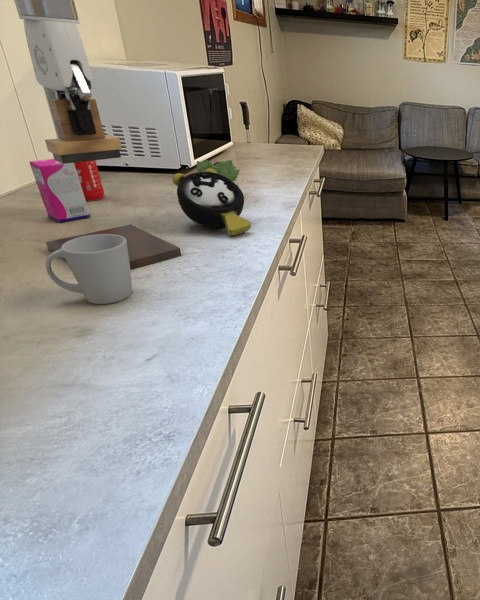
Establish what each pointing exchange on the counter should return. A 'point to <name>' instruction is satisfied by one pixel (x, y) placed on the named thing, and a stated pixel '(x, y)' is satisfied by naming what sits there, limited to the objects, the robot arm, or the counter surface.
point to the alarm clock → (211, 200)
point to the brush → (80, 137)
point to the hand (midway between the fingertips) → (81, 132)
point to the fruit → (219, 168)
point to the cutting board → (132, 245)
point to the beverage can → (89, 180)
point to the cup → (96, 267)
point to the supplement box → (60, 190)
